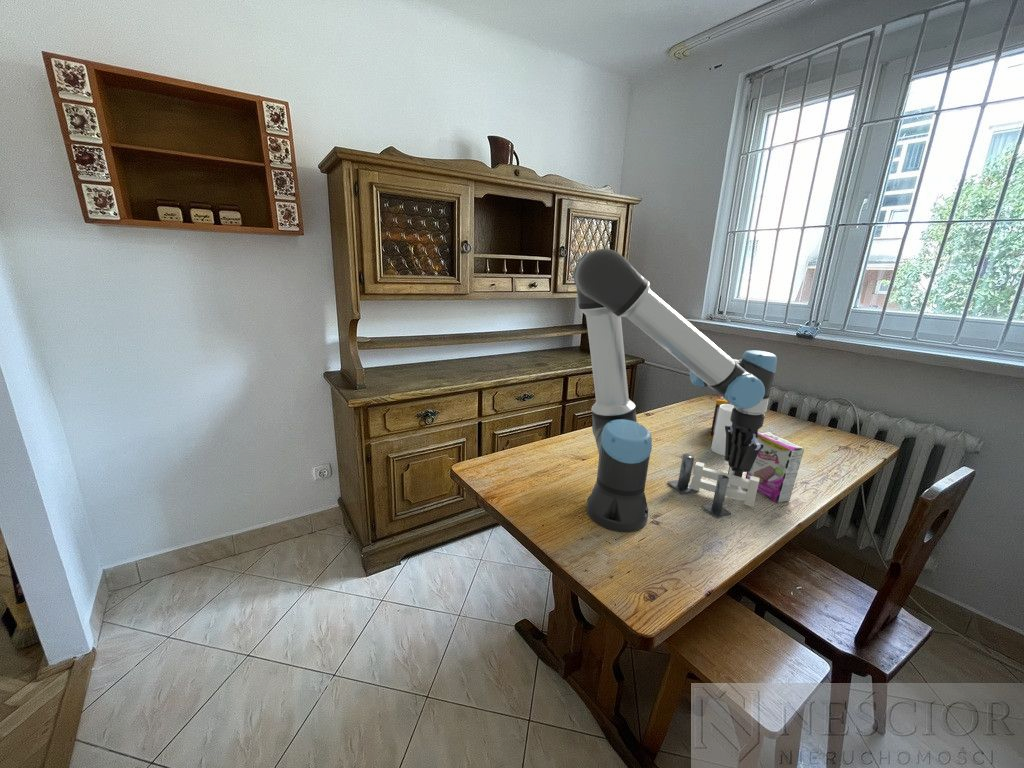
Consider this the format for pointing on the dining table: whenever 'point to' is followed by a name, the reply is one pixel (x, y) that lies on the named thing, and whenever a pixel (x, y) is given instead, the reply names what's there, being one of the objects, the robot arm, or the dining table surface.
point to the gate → (733, 480)
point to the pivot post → (684, 476)
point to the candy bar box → (776, 466)
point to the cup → (721, 429)
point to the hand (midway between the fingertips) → (731, 489)
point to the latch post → (718, 499)
